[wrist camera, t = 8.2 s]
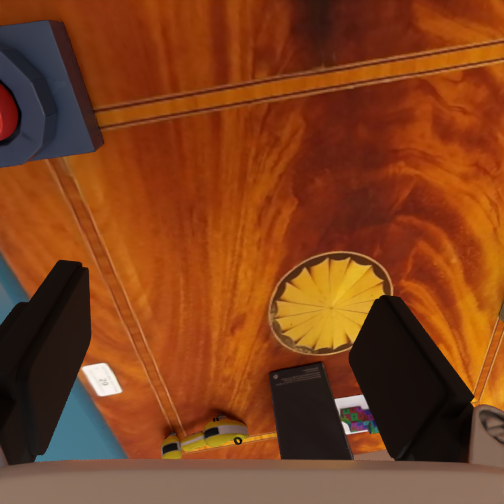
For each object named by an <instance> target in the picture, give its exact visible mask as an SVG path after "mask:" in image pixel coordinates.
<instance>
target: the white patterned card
mask: <svg viewBox="0 0 504 504" xmlns="http://www.w3.org/2000/svg"><path fill="white" fill-rule="evenodd" d="M339 415H340V418H341V421H342V423H344V424H346V425H347V427H348V429H349V432H350V433H359V432H365V431H369V433H370V434H374V433H379V430H378V428H377V426H376V424H375V421H374V419H373V417H372V414H371V412H370V410H369V409H363V408H362V406H361V405H360V406H354V407H347V408H341V409H340V410H339Z"/></svg>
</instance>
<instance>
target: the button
mask: <svg viewBox="0 0 504 504" xmlns="http://www.w3.org/2000/svg"><path fill="white" fill-rule="evenodd" d="M17 124H18V110H17V106H16V104H15V101H14V99H13V97H12V96H11V94H10V93H9V92H8V90H7V89H6V88H5V87H4V86H3V85H2V84H1V83H0V141H1V140H3V139H5V138H7V137H9V136H10V135H11V134H12V133H13V132H14V131H15V129H16V127H17Z"/></svg>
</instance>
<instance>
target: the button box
mask: <svg viewBox="0 0 504 504" xmlns="http://www.w3.org/2000/svg"><path fill="white" fill-rule="evenodd" d="M0 83H1V84H2V85H3V86H4V87H5V88H6V89H7V90H8V92H9V93H10V94H11V96H12V97H13V99H14V101H15V104H16V106H17V110H18V124H17V127H16V129H15V131H14V132H13V133H12V134H11V135H10V136H9V137H7V138H5V139H3V140H1V141H0V168H2V167H9V166H16V165H22V164H24V163H26V162H28V161H34V160H41V159H48V158H55V157H62V156H69V155H76V154H83V153H90V152H95V151H96V150H97V149H99V148H100V147H101V146H102V145H103V144H104V141H103V138H102V135H101V132H100V129H99V126H98V123H97V120H96V117H95V114H94V111H93V109H92V106H91V103H90V100H89V97H88V94H87V91H86V88H85V85H84V82H83V79H82V76H81V73H80V70H79V67H78V64H77V61H76V58H75V55H74V52H73V49H72V47H71V44H70V41H69V38H68V35H67V32H66V29H65V26H64V23H63V22H59V21H52V20H43V21H35V22H28V23H20V24H13V25H5V26H0Z"/></svg>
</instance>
